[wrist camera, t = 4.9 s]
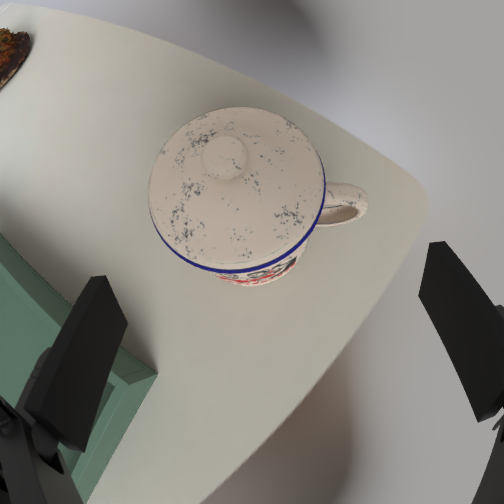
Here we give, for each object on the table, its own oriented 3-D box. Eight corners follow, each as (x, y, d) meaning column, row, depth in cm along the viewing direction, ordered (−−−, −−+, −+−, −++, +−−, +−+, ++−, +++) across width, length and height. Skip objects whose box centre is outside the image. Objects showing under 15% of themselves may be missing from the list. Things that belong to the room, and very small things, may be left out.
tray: (158, 373, 23) (129, 384, 18) (71, 530, 20) (46, 550, 15) (-1, 232, 27) (-33, 219, 22) (-52, 391, 24) (-78, 393, 19)
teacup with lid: (187, 289, 24) (109, 260, 12) (195, 175, 26) (141, 83, 14) (352, 290, 23) (414, 260, 11) (345, 173, 24) (382, 75, 13)
